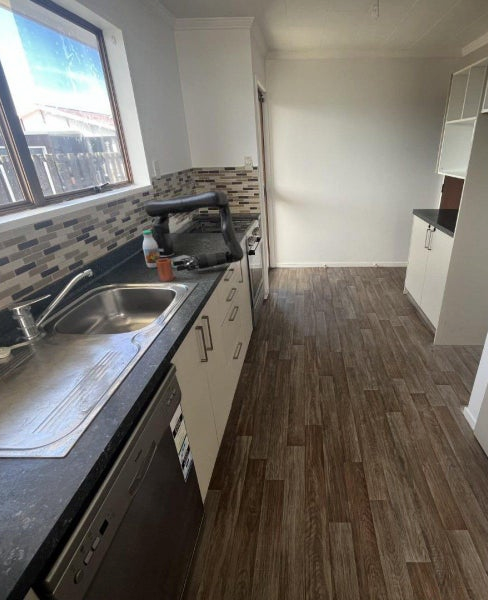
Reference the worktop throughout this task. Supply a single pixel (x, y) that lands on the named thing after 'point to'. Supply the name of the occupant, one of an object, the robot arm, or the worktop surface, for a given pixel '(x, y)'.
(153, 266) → the milk bottle
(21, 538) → the worktop surface
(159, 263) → the cup
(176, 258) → the scale platform
